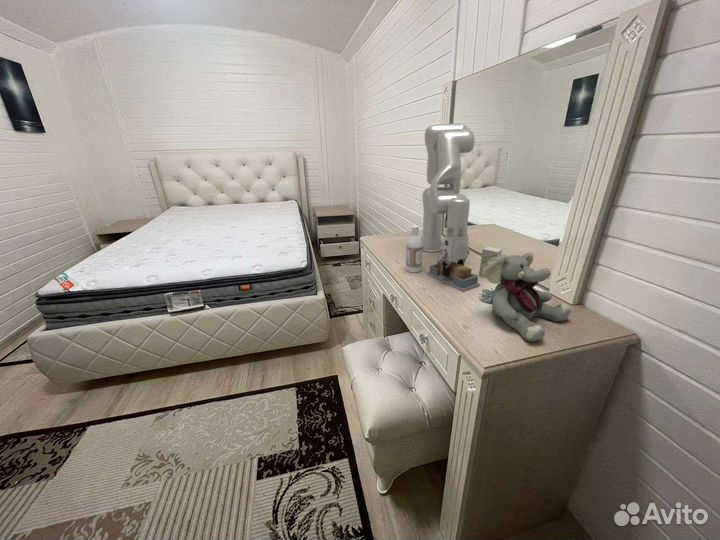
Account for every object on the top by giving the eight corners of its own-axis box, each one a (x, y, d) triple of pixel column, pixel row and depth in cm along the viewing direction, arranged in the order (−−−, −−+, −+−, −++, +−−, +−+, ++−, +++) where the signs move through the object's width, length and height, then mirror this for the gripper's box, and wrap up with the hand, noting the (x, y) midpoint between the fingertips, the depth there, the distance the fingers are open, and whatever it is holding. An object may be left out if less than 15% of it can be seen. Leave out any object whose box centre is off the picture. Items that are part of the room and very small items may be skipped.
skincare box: (478, 276, 122) (481, 248, 117) (482, 273, 125) (486, 245, 120) (493, 280, 118) (498, 252, 113) (497, 276, 121) (502, 248, 116)
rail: (427, 274, 126) (427, 265, 124) (442, 269, 130) (443, 261, 129) (463, 291, 110) (464, 282, 108) (479, 285, 114) (481, 276, 112)
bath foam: (413, 274, 127) (414, 229, 119) (402, 269, 132) (403, 226, 124) (425, 270, 130) (427, 226, 122) (414, 265, 135) (415, 223, 128)
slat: (436, 273, 124) (437, 260, 122) (443, 271, 126) (444, 258, 123) (462, 285, 113) (464, 271, 110) (469, 282, 115) (471, 268, 112)
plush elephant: (578, 323, 89) (597, 259, 81) (533, 347, 79) (549, 278, 71) (501, 289, 111) (510, 237, 103) (458, 305, 101) (464, 249, 93)
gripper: (447, 237, 105) (443, 281, 112) (480, 229, 113) (475, 271, 120) (432, 232, 111) (430, 275, 118) (464, 225, 119) (460, 265, 126)
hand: (452, 273), depth 119 cm, fingers open, 7 cm apart
